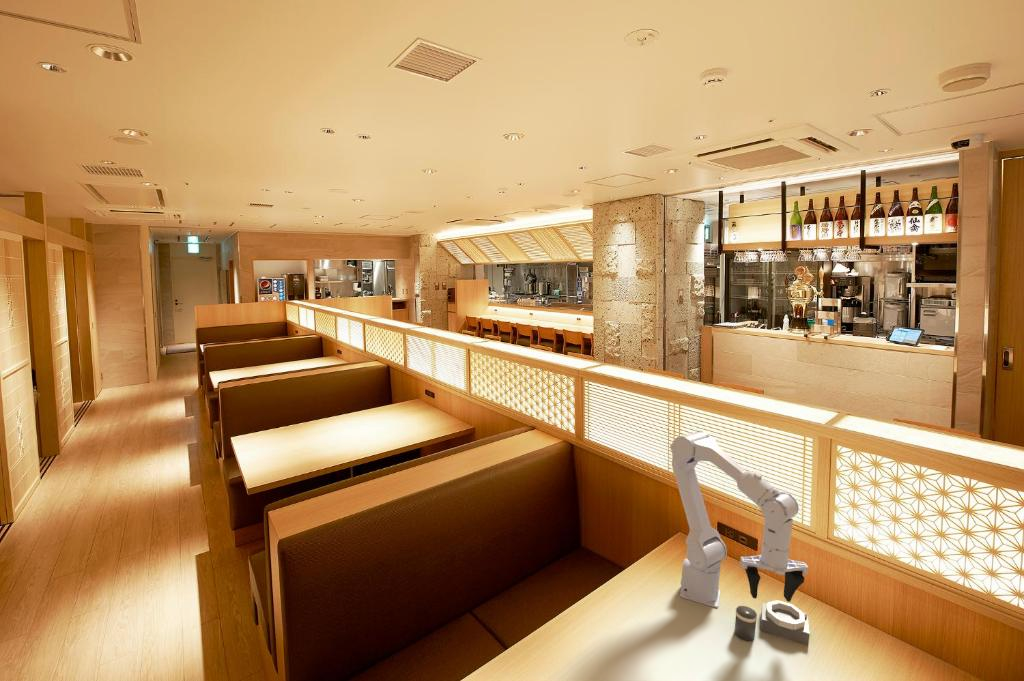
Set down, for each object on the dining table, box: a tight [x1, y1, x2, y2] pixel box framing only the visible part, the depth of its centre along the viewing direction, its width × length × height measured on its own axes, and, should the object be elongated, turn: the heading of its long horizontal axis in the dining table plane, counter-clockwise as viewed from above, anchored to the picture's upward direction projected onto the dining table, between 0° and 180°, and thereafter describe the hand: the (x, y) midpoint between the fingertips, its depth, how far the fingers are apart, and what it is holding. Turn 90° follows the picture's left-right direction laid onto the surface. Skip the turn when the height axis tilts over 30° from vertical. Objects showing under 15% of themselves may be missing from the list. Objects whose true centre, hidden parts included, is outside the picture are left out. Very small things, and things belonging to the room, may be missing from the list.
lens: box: [734, 605, 758, 642], centre depth 118 cm, size 5×5×6 cm
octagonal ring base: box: [760, 599, 810, 646], centre depth 121 cm, size 10×8×4 cm
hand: (770, 597), depth 118 cm, fingers open, 7 cm apart
